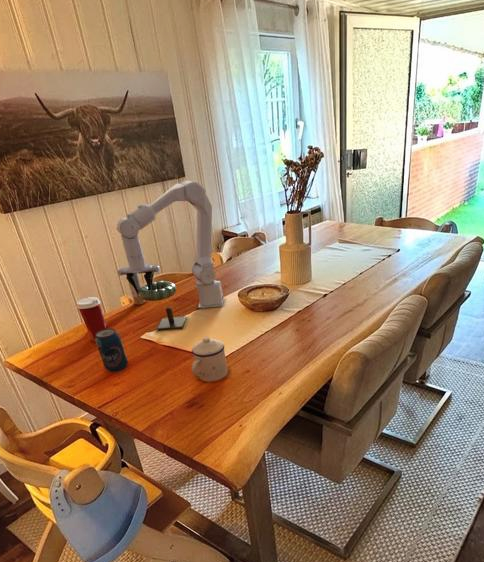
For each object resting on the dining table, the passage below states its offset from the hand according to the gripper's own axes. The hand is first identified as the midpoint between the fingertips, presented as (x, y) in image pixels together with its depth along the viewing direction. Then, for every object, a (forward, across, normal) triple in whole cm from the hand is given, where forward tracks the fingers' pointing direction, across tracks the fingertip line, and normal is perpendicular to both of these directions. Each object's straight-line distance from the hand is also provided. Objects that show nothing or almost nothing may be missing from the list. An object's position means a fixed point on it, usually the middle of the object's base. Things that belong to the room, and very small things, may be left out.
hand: (145, 292), depth 157 cm
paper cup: (+11, -15, -13) cm, 23 cm away
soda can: (+11, -2, -36) cm, 38 cm away
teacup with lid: (+11, +28, -46) cm, 55 cm away
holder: (+10, +9, -7) cm, 15 cm away
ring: (0, +5, 0) cm, 5 cm away
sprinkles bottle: (+11, -10, +19) cm, 24 cm away
